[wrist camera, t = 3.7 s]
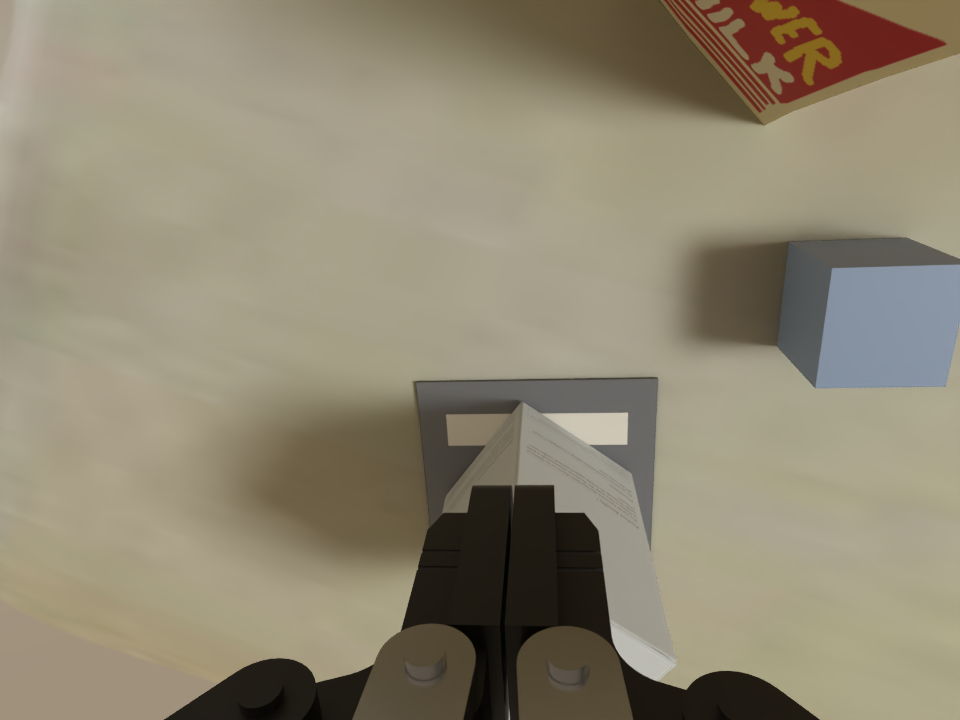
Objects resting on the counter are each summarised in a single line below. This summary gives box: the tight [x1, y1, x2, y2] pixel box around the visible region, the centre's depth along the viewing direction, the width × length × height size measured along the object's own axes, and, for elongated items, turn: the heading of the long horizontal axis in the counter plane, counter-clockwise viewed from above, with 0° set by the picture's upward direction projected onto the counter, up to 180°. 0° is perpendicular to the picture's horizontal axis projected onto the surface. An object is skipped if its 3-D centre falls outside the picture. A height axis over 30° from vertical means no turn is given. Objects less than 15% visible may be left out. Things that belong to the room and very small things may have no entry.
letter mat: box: [416, 378, 658, 549], centre depth 36 cm, size 12×12×1 cm
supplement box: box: [442, 402, 677, 720], centre depth 30 cm, size 7×7×13 cm
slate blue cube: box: [777, 238, 960, 388], centre depth 29 cm, size 5×5×5 cm
